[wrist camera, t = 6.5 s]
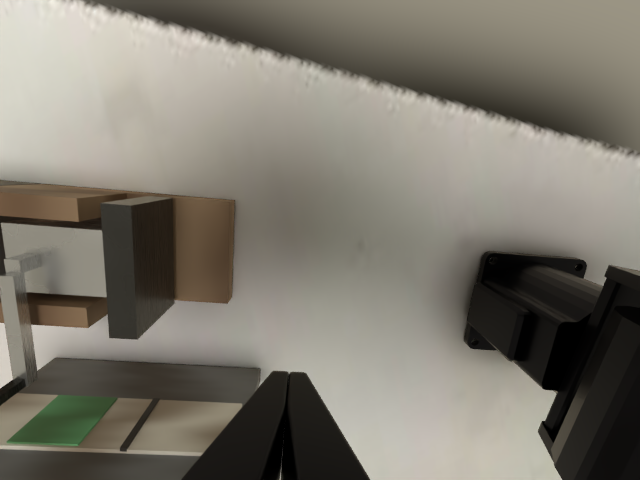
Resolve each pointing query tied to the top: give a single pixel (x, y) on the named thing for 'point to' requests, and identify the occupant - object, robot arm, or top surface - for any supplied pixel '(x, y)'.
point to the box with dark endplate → (88, 272)
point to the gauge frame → (116, 376)
